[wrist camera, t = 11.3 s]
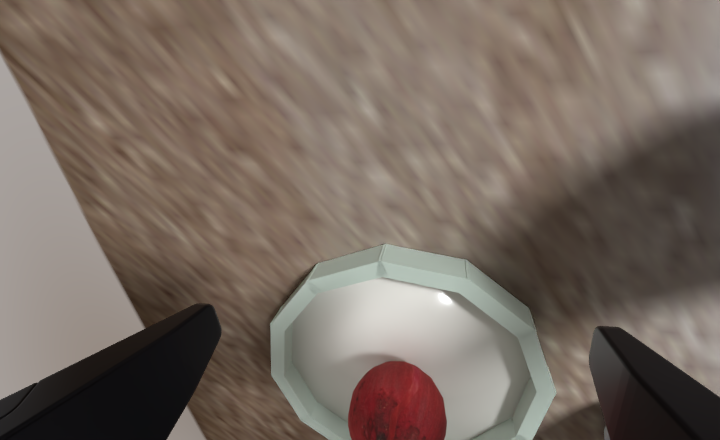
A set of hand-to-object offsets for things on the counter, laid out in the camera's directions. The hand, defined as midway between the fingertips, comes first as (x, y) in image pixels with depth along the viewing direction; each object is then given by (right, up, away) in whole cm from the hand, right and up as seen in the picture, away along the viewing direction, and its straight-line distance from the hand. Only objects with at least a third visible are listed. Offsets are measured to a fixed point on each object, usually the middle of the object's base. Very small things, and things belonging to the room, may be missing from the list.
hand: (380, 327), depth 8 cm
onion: (+3, -7, +16) cm, 18 cm away
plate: (+2, -7, +17) cm, 18 cm away
